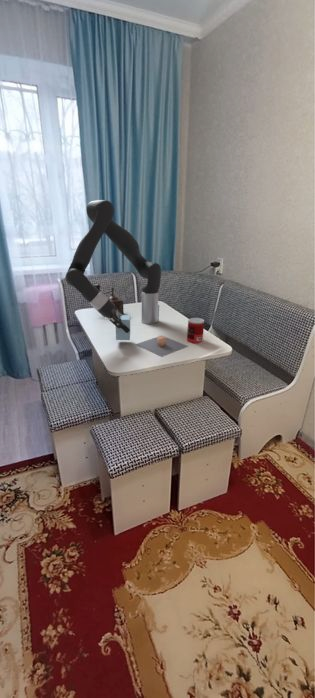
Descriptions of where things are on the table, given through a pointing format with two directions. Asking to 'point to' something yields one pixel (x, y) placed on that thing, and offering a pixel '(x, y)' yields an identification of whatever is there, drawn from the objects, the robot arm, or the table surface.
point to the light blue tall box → (120, 332)
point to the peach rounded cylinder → (161, 341)
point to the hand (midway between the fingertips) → (128, 328)
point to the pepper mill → (113, 299)
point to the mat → (161, 351)
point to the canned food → (195, 330)
